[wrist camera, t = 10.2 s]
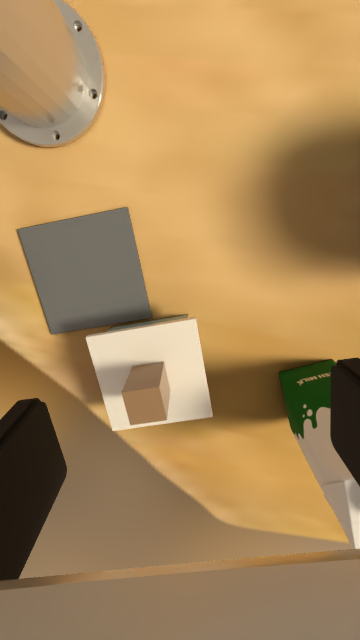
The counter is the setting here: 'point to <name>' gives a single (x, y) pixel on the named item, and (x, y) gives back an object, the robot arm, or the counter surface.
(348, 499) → the milk carton
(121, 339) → the lid
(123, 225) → the mat
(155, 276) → the counter surface
